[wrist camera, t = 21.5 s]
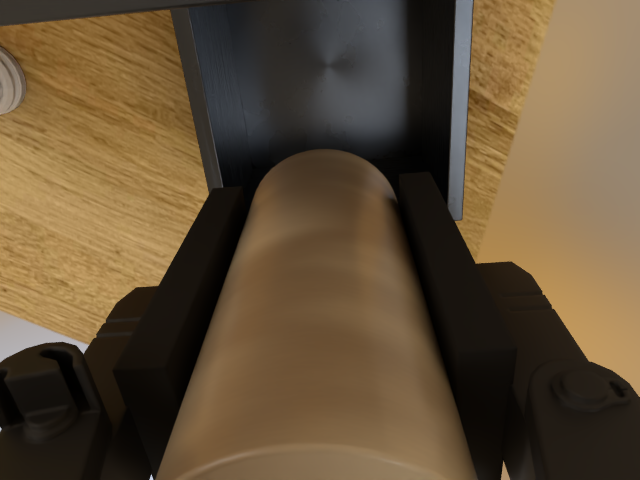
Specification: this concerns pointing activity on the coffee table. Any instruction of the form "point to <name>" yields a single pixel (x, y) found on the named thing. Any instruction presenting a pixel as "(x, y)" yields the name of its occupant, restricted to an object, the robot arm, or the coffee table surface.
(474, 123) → the coffee table surface
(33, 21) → the handled dark lid
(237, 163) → the dark boxy piece
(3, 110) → the chess piece
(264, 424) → the tan wooden cylinder
